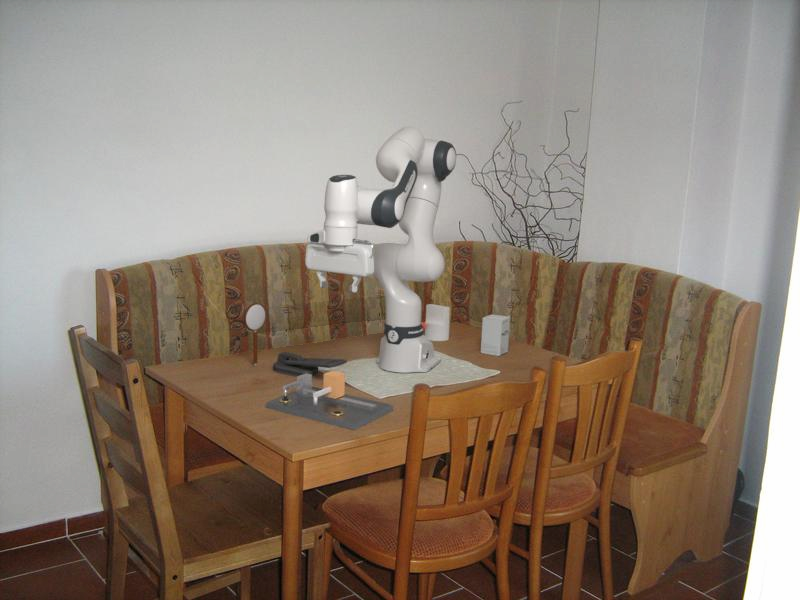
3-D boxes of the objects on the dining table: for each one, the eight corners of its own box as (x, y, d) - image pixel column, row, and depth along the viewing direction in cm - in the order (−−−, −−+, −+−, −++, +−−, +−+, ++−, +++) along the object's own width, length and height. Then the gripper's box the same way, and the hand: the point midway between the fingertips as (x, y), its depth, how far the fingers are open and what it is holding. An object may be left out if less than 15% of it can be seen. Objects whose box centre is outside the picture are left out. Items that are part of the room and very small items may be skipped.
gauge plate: (309, 391, 219) (309, 368, 218) (393, 410, 205) (393, 386, 204) (266, 407, 204) (266, 384, 203) (354, 430, 190) (354, 404, 189)
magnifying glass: (246, 369, 239) (246, 305, 235) (242, 368, 240) (242, 304, 236) (267, 363, 245) (267, 301, 241) (264, 362, 246) (263, 300, 243)
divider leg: (332, 393, 210) (332, 370, 209) (344, 396, 208) (344, 373, 207) (308, 404, 201) (308, 379, 200) (320, 407, 199) (320, 382, 198)
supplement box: (499, 356, 262) (501, 320, 260) (480, 353, 266) (481, 317, 264) (508, 352, 269) (510, 316, 266) (489, 348, 272) (491, 313, 270)
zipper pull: (329, 365, 222) (268, 349, 237) (329, 387, 224) (268, 370, 238) (350, 359, 229) (289, 344, 244) (349, 380, 231) (289, 365, 245)
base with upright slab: (419, 338, 285) (420, 305, 283) (434, 334, 292) (435, 302, 290) (439, 342, 280) (440, 309, 277) (453, 338, 286) (455, 306, 284)
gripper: (380, 240, 201) (377, 293, 203) (317, 233, 211) (315, 284, 213) (366, 241, 195) (364, 295, 198) (302, 234, 206) (301, 286, 208)
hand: (338, 289), depth 206 cm, fingers open, 8 cm apart
